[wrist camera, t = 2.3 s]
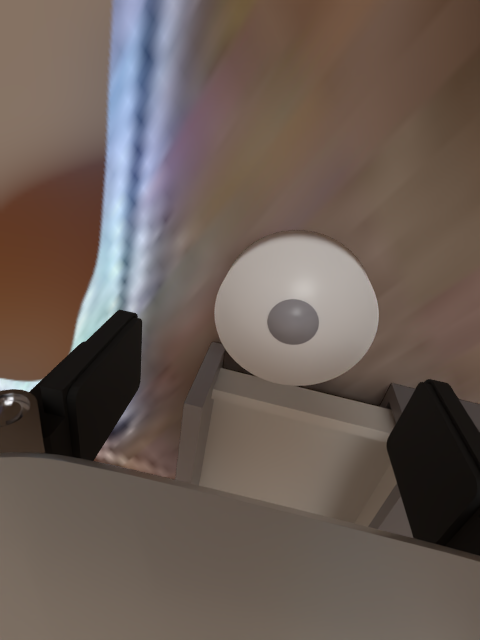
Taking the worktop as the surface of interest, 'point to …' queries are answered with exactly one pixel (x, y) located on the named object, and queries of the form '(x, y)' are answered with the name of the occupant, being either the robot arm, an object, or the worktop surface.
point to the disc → (296, 309)
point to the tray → (284, 444)
